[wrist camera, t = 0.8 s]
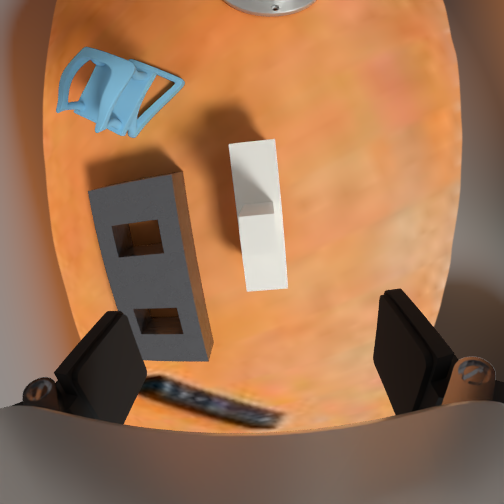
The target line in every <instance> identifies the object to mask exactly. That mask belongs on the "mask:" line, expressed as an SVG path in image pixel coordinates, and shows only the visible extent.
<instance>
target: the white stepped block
mask: <svg viewBox="0 0 504 504" xmlns="http://www.w3.org/2000/svg"><path fill="white" fill-rule="evenodd" d="M229 152H230V161H231V169H232V177H233V185H234V194H235V202H236V210H237V218H238V226H239V234H240V241H241V249H242V257H243V265H244V273H245V280H246V288H247V291H260V290H273V289H285V288H288V282H287V268H286V254H285V242H284V229H283V218H282V206H281V195H280V185H279V175H278V165H277V155H276V146H275V139H271V140H260V141H251V142H242V143H234V144H229Z"/></svg>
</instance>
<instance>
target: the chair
mask: <svg viewBox="0 0 504 504" xmlns="http://www.w3.org/2000/svg"><path fill="white" fill-rule="evenodd" d="M89 60H91V61H92V62H93V63H94V64H96V66H95V68H94V71H93V73H92V75H91V77H90V79H89V81H88V83H87V85H86V87H85V89H84V91H83V93H82V95H81V97H80V99H79V101H78V102H70V103H68V95H69V89H70V85H71V82H72V79H73V77H74V76H75V74H76V72H77V71H78V70H79V69H80V68H81V67H82V66H83V65H84V64H85V63H86V62H88V61H89ZM156 75H159V76H161V77H164V78H166V79H168V80H170V81H173V82H174V83H175V84H174V85H173V86H172V87H171V88H170V89H169V90H168V91H167V92H166V93H164V94H163V95H162V96H161V97H160V98H159V99H158V100H157V101H156V102H154V103H153V104H152V105H151V106H150V107H149V108H148V109H147V110H146V111H145V112H144V113H143V114H142V115H141V116H140V117H139V118H138V119H137V115H138V112H139V108H140V106H141V103H142V101H143V99H144V96H145V94H146V92H147V91H148V89H149V87H150V86H151V84H152V82H153V80H154V79H155V77H156ZM184 84H185V82H184V81H183V79H181V78H179V77H177V76H174V75H172V74H170V73H167V72H165V71H162V70H160V69H157V68H155V67H152V66H150V65H147V64H144V63H142V62H139V61H136V60H134V59H129V60H125V59H123V58H120V57H118V56H115V55H112V54H110V53H107V52H104V51H101V50H98V49H94V48H90V47H84V48H83V49H82V50H81V51H80V52H79V53H78V54H77V55H76V56H75V57H74V58H73V59H72V60H71V62H70V63H69V64H68V65H67V67H66V68H65V70H64V71H63V73H62V75H61V79H60V83H59V94H58V104H57V109H56V112H57V113H59V112H62V111H64V110H71V109H75V110H74V113H76V114H78V115H80V116H82V117H85V118H87V119H89V120H91V121H93V122H95V123H96V127H95V132H96V133H99V132H101V131H103V130H105V129H106V128H107V129H109V130H111V131H113V132H115V133H116V134H118V135H120V136H125V134H126V132H127V130H128V136H129V137H132V138H135V137H136V136H137V135H138V134H139V133H140V131H141V130H142V129H143V127H144V126H145V125H146V124H147V123H148V122H149V121H150V120H151V119H152V118H153V116H154V115H155V114H156V113H157V112H158V111H159V110H160V109H161V108H162V107H163V106H164V105H166V104H167V103H168V102H169V101H170V100H171V99H172V98H173V97H174V96H175V95H176V94H177V93H178V92H179V91H180V90H181V89H182V87H183V86H184Z"/></svg>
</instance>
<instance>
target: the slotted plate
mask: <svg viewBox="0 0 504 504" xmlns="http://www.w3.org/2000/svg"><path fill="white" fill-rule="evenodd" d="M88 194H89V199H90V205H91V210H92V215H93V220H94V224H95V229H96V233H97V237H98V242H99V246H100V250H101V254H102V258H103V261H104V265H105V269H106V272H107V276H108V279H109V283H110V286H111V290H112V293H113V296H114V299H115V302H116V305H117V308H118V311H121V312H123V314H124V315H126V316H127V317H128V320H129V323H130V326H131V329H132V332H133V335H134V337H135V340H136V343H137V346H138V348H139V351H140V354H141V356H142V359H143V360H152V361H209V358H210V354H211V350H212V347H213V343H214V342H213V337H212V333H211V328H210V323H209V319H208V314H207V309H206V304H205V299H204V294H203V289H202V284H201V279H200V273H199V268H198V263H197V257H196V252H195V246H194V240H193V234H192V228H191V222H190V216H189V210H188V204H187V197H186V190H185V183H184V176H183V171H182V172H176V173H170V174H164V175H158V176H153V177H147V178H142V179H137V180H132V181H127V182H122V183H117V184H113V185H108V186H104V187H101V188H97V189H94V190H91V191H88ZM157 219H158V224H159V229H160V235H161V240H162V243H157V244H148V245H138V246H133V243H132V239H131V234H130V229H129V225H128V223H135V222H142V221H149V220H157ZM149 308H177V311H178V314H179V317H152V316H151V313H150V309H149Z"/></svg>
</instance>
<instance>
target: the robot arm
mask: <svg viewBox="0 0 504 504" xmlns="http://www.w3.org/2000/svg"><path fill="white" fill-rule="evenodd" d="M223 1H224V2H226V3H227V4H228V5H229V6H231V7H233V8H235V9H237V10H239V11H242V12H244V13H248V14H252V15H257V16H267V17H270V16H284V15H290V14H293V13H296V12H299V11H302V10H304V9H306V8H308V7H309V6H310V5H312V4H313V3H314V2H315V1H316V0H223ZM274 10H277V11H274ZM373 360H374V364H375V367H376V369H377V371H378V374H379V376H380V378H381V381H382V383H383V385H384V388H385V390H386V392H387V395H388V397H389V400H390V402H391V405H392V407H393V410H394V412H395V416H391V417H386V418H381V419H376V420H371V421H365V422H359V423H353V424H347V425H341V426H334V427H327V428H319V429H310V430H299V431H286V432H269V433H201V432H184V431H172V430H161V429H152V428H144V427H137V426H130V425H123V424H124V422H125V420H126V418H127V416H128V414H129V411H130V409H131V407H132V405H133V403H134V401H135V399H136V397H137V395H138V393H139V391H140V389H141V387H142V385H143V383H144V381H145V379H146V376H147V370H146V367H145V364H144V362H143V359H142V356H141V354H140V351H139V348H138V346H137V343H136V340H135V337H134V335H133V332H132V329H131V326H130V323H129V320H128V317H127V316H126V315H124V314H123V312H121V311H107V312H106V313H105V314H104V315H103V316H102V318H101V319H100V320H99V321H98V322H97V323H96V324H95V325H94V326H93V328H92V329H91V330H90V331H89V332H88V333H87V334H86V335H85V337H84V338H83V339H82V340H81V341H80V342H79V343H78V345H77V346H76V347H75V348H74V349H73V350H72V352H71V353H70V354H69V355H68V356H67V357H66V359H65V360H64V361H63V362H62V363H61V365H60V366H59V367H58V368H57V369H56V371H55V372H54V374H55V376H56V377H57V379H58V381H57V382H56V383H55V381H54V380H53V379H51V378H48V377H42V378H38V379H36V380H34V381H32V382H31V383H29V384H28V386H26V388H25V389H24V391H23V402H20V403H17V404H15V405H12V406H9V407H4V408H0V504H504V382H500V381H497V380H495V378H496V375H495V370H494V368H493V366H492V365H491V364H490V363H489V362H488V361H486V360H484V359H482V358H479V357H465V358H462V359H460V360H458V359H457V357H456V356H455V355H454V352H453V351H452V350H451V348H450V347H449V346H448V345H447V343H446V342H445V341H444V339H443V338H442V337H441V336H440V334H439V333H438V332H437V331H436V330H435V328H434V327H433V326H432V325H431V323H430V322H429V321H428V320H427V318H426V317H425V316H424V315H423V314H422V313H421V311H420V310H419V309H418V308H417V307H416V305H415V304H414V303H413V302H412V301H411V300H410V298H409V297H408V296H407V295H406V294H405V293H404V292H403V290H402V289H393V290H386V291H385V293H384V295H381V296H380V299H379V311H378V321H377V330H376V339H375V347H374V354H373Z"/></svg>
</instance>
